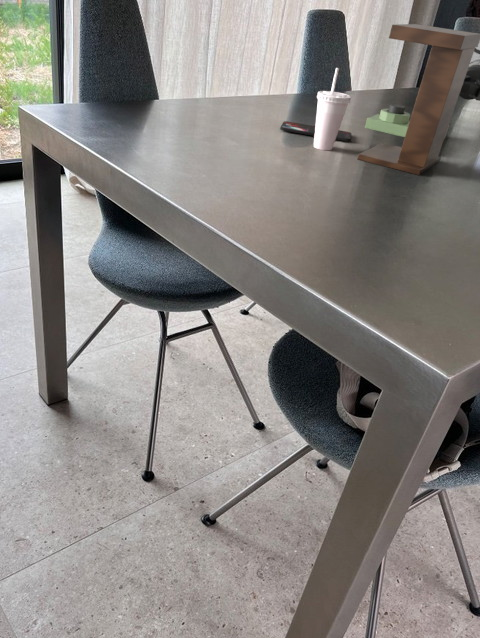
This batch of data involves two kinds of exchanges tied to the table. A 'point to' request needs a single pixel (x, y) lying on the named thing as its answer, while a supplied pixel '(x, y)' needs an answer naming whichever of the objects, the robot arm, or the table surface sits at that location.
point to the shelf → (429, 97)
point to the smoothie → (329, 116)
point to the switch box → (389, 122)
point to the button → (396, 109)
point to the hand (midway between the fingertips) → (460, 101)
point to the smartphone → (311, 130)
